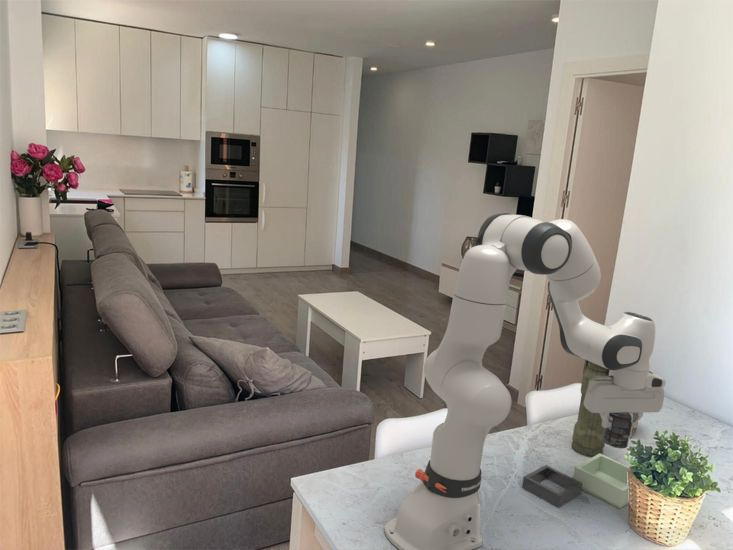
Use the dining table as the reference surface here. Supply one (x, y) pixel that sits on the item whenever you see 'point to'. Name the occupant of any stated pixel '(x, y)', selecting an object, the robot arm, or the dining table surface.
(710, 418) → the dining table surface
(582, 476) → the bin
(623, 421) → the pill bottle
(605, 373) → the thermos
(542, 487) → the dark grey shallow tray
